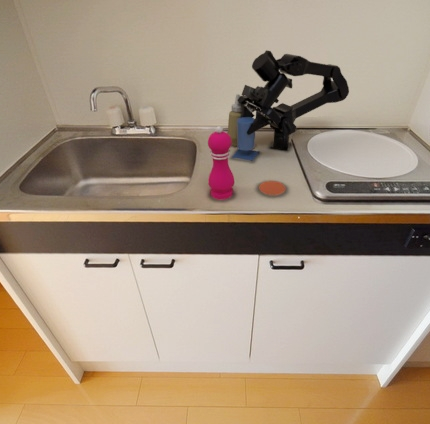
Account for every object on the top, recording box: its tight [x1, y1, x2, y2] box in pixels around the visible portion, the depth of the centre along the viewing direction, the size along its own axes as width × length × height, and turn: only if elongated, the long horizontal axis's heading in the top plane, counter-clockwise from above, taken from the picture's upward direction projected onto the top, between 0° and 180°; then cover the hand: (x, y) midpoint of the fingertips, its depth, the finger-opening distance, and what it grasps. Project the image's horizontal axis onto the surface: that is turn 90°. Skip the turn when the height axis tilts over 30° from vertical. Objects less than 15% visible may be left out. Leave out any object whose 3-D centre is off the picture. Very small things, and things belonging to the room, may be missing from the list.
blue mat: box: [231, 149, 260, 162], centre depth 100 cm, size 8×8×1 cm
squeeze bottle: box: [227, 93, 242, 147], centre depth 104 cm, size 8×8×18 cm
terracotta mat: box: [258, 180, 286, 196], centre depth 82 cm, size 8×8×1 cm
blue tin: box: [236, 117, 256, 151], centre depth 96 cm, size 6×6×10 cm
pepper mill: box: [207, 125, 235, 200], centre depth 75 cm, size 7×7×20 cm
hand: (242, 130), depth 94 cm, fingers closed on blue tin, 6 cm apart
